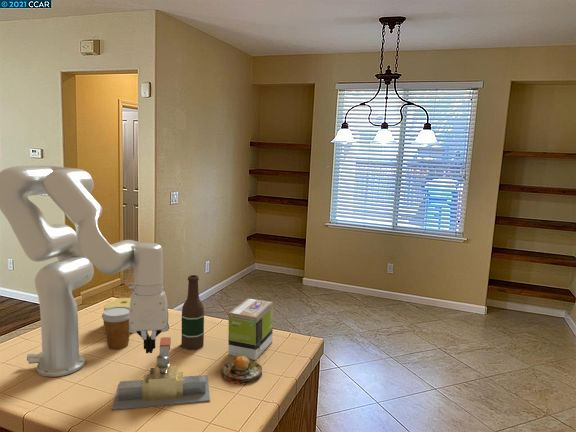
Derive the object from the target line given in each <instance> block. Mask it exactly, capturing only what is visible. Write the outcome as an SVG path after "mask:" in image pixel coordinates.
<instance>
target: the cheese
mask: <svg viewBox="0 0 576 432" xmlns="http://www.w3.org/2000/svg"><path fill="white" fill-rule="evenodd" d="M130 299H131V297H121V298H116V299H115V300H112V301H108V302H107V301H106V303H105V304H104V306H103V311H104V310H106V309H108V308H111V307H117V306H125V307H129V308H130ZM102 320H103V319H102ZM102 322H104V320H103V321H102ZM103 331H104V335H105V336H106V332H105V326H104V325H103ZM130 334H132V332H130Z"/></svg>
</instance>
